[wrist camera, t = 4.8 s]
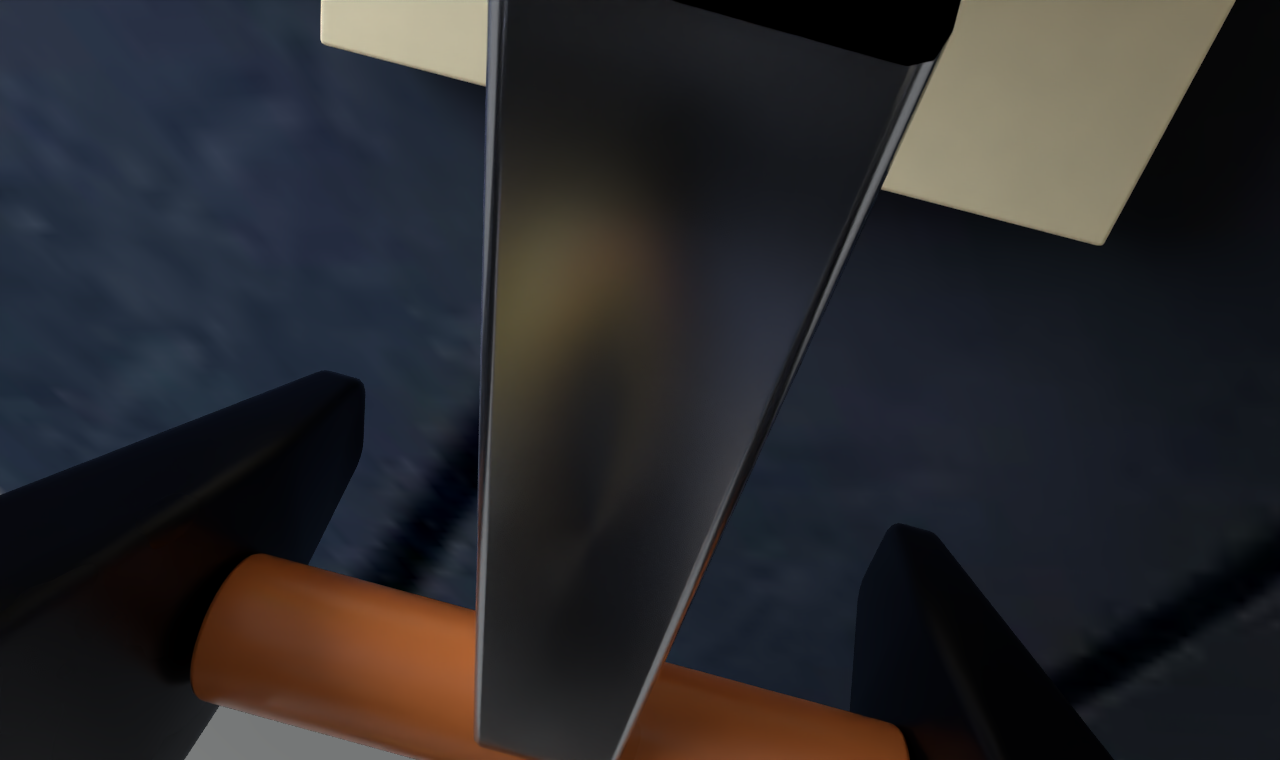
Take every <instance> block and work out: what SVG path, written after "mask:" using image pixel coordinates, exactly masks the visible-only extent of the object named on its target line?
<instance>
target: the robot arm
mask: <svg viewBox="0 0 1280 760" xmlns="http://www.w3.org/2000/svg"><path fill="white" fill-rule="evenodd" d="M364 413H365V389H364V384H363V383H362V382H361V381H360V380H359V379H357V378H354V377H350V376H346V375H342V374H339V373H335V372H331V371H320V372H316V373H314V374H311V375H309V376H306V377H303V378H301V379H298V380H296V381H293V382H291V383H288V384H285V385H283V386H280V387H278V388H275V389H273V390H270V391H267V392H265V393H262V394H260V395H257V396H255V397H252V398H249V399H247V400H244V401H242V402H239V403H236V404H234V405H231V406H229V407H226V408H224V409H221V410H218V411H216V412H213V413H211V414H208V415H206V416H203V417H200V418H198V419H195V420H193V421H190V422H188V423H185V424H182V425H180V426H177V427H175V428H172V429H170V430H167V431H164V432H162V433H159V434H157V435H154V436H152V437H149V438H146V439H144V440H141V441H139V442H136V443H133V444H131V445H128V446H126V447H123V448H121V449H118V450H115V451H113V452H110V453H108V454H105V455H103V456H100V457H97V458H95V459H92V460H90V461H87V462H85V463H82V464H79V465H77V466H74V467H72V468H69V469H67V470H64V471H61V472H59V473H56V474H54V475H51V476H48V477H46V478H43V479H41V480H38V481H36V482H33V483H30V484H28V485H25V486H23V487H20V488H18V489H15V490H12V491H10V492H7V493H5V494H2V495H0V760H184V759H185V758H186V756H187V755H188V753H189V752H190V750H191V749H192V747H193V746H194V744H195V742H196V741H197V739H198V738H199V736H200V735H201V733H202V732H203V730H204V729H205V727H206V726H207V724H208V722H209V721H210V720H211V718H212V716H213V715H214V713H215V712H216V710H217V709H218V707H219V705H215V704H212V703H208V702H205V701H202V700H200V699H199V698H198V697H197V696H196V695H195V694H194V693H193V691H192V688H191V683H190V667H191V660H192V655H193V650H194V646H195V642H196V639H197V636H198V633H199V630H200V627H201V624H202V622H203V619H204V617H205V615H206V612H207V610H208V608H209V606H210V604H211V602H212V600H213V598H214V597H215V595H216V593H217V591H218V590H219V588H220V586H221V585H222V583H223V582H224V580H225V579H226V578H227V576H228V575H229V574H230V572H231V571H232V570H233V569H234V568H235V567H236V566H237V565H238V564H239V563H240V562H241V561H242V560H243V559H245V558H246V557H248V556H250V555H253V554H258V553H265V554H268V555H272V556H276V557H279V558H283V559H287V560H290V561H294V562H298V563H302V564H305V565H308V564H309V562H310V560H311V558H312V556H313V554H314V552H315V550H316V548H317V546H318V544H319V542H320V539H321V537H322V535H323V533H324V531H325V529H326V527H327V525H328V523H329V521H330V519H331V517H332V515H333V513H334V511H335V509H336V507H337V505H338V503H339V501H340V499H341V497H342V495H343V493H344V491H345V489H346V487H347V485H348V483H349V481H350V479H351V477H352V475H353V473H354V471H355V469H356V467H357V465H358V462H359V459H360V456H361V453H362V448H363V438H364ZM850 712H852V713H855V714H859V715H863V716H866V717H870V718H874V719H878V720H881V721H885V722H889V723H892V724H894V725H895V726H896V727H898V728H899V729H900V730H901V732H902V733H903V735H904V737H905V739H906V742H907V746H908V750H909V756H910V760H1114V759H1113V758H1112V757H1111V755H1110V754H1109V753H1108V751H1107V750H1106V749H1105V748H1104V746H1103V745H1102V744H1101V743H1100V741H1099V740H1098V739H1097V738H1096V736H1095V735H1094V734H1093V732H1092V731H1091V730H1090V729H1089V727H1088V726H1087V725H1086V724H1085V722H1084V721H1083V720H1082V719H1081V717H1080V716H1079V715H1078V713H1077V712H1076V711H1075V710H1074V708H1073V707H1072V706H1071V705H1070V703H1069V702H1068V701H1067V700H1066V698H1065V697H1064V696H1063V695H1062V693H1061V692H1060V691H1059V689H1058V688H1057V687H1056V686H1055V684H1054V683H1053V682H1052V681H1051V679H1050V678H1049V677H1048V676H1047V674H1046V673H1045V672H1044V670H1043V669H1042V668H1041V667H1040V665H1039V664H1038V663H1037V662H1036V660H1035V659H1034V658H1033V657H1032V655H1031V654H1030V653H1029V651H1028V650H1027V649H1026V648H1025V646H1024V645H1023V644H1022V643H1021V641H1020V640H1019V639H1018V638H1017V636H1016V635H1015V634H1014V633H1013V631H1012V630H1011V629H1010V627H1009V626H1008V625H1007V624H1006V622H1005V621H1004V620H1003V619H1002V617H1001V616H1000V615H999V614H998V612H997V611H996V610H995V608H994V607H993V606H992V605H991V603H990V602H989V601H988V600H987V598H986V597H985V596H984V595H983V593H982V592H981V591H980V589H979V588H978V587H977V586H976V584H975V583H974V582H973V581H972V579H971V578H970V577H969V576H968V574H967V573H966V572H965V571H964V569H963V568H962V567H961V565H960V564H959V563H958V562H957V560H956V559H955V558H954V557H953V555H952V554H951V553H950V552H949V550H948V549H947V548H946V546H945V545H944V544H943V543H942V541H941V540H940V539H939V538H938V537H937V536H936V535H935V534H934V533H932V532H930V531H927V530H923V529H920V528H916V527H912V526H908V525H905V524H901V523H897V524H894V525H892V526H891V527H890V528H889V529H888V530H887V532H886V534H885V536H884V538H883V540H882V542H881V544H880V546H879V548H878V550H877V552H876V554H875V556H874V558H873V560H872V562H871V564H870V566H869V568H868V570H867V572H866V574H865V576H864V578H863V580H862V583H861V586H860V590H859V595H858V603H857V617H856V631H855V645H854V659H853V673H852V687H851V702H850Z"/></svg>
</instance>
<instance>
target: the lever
mask: <svg viewBox="0 0 1280 760" xmlns="http://www.w3.org/2000/svg"><path fill="white" fill-rule="evenodd" d="M960 3H961V0H487V50H486V102H485V153H484V205H483V256H482V308H481V359H480V410H479V462H478V513H477V565H476V611H475V610H471V609H468V608H464V607H460V606H457V605H453V604H449V603H446V602H442V601H438V600H434V599H431V598H427V597H423V596H420V595H416V594H412V593H409V592H405V591H401V590H398V589H394V588H390V587H386V586H383V585H379V584H375V583H372V582H368V581H364V580H361V579H357V578H353V577H350V576H346V575H342V574H338V573H335V572H331V571H327V570H324V569H320V568H316V567H313V566H309V565H305V564H302V563H298V562H294V561H290V560H287V559H283V558H279V557H276V556H272V555H268V554H265V553H258V554H253V555H250V556H248V557H246V558H245V559H243V560H242V561H241V562H240V563H239V564H238V565H237V566H236V567H235V568H234V569H233V570H232V571H231V572H230V574H229V575H228V576H227V578H226V579H225V580H224V582H223V583H222V585H221V586H220V588H219V590H218V591H217V593H216V595H215V597H214V598H213V600H212V602H211V604H210V606H209V608H208V610H207V612H206V615H205V617H204V619H203V622H202V624H201V627H200V630H199V633H198V636H197V639H196V642H195V646H194V650H193V655H192V660H191V667H190V683H191V688H192V691H193V693H194V694H195V695H196V696H197V697H198V698H199V699H200V700H202V701H205V702H208V703H212V704H215V705H219V706H223V707H227V708H230V709H234V710H238V711H241V712H245V713H248V714H252V715H256V716H259V717H263V718H267V719H270V720H274V721H277V722H281V723H285V724H288V725H292V726H296V727H300V728H303V729H307V730H310V731H314V732H318V733H321V734H325V735H329V736H332V737H336V738H340V739H343V740H347V741H350V742H354V743H358V744H361V745H365V746H369V747H372V748H376V749H380V750H384V751H387V752H390V753H394V754H398V755H402V756H405V757H409V758H413V759H416V760H910V756H909V750H908V746H907V742H906V739H905V737H904V735H903V733H902V732H901V730H900V729H899V728H898V727H896V726H895V725H894V724H892V723H889V722H885V721H881V720H878V719H874V718H870V717H866V716H863V715H859V714H855V713H852V712H848V711H844V710H841V709H837V708H833V707H830V706H826V705H822V704H818V703H815V702H811V701H807V700H804V699H800V698H796V697H793V696H789V695H785V694H782V693H778V692H774V691H770V690H767V689H763V688H759V687H756V686H752V685H748V684H745V683H741V682H737V681H734V680H730V679H726V678H722V677H719V676H715V675H711V674H708V673H704V672H700V671H697V670H693V669H689V668H686V667H682V666H678V665H674V664H671V663H667V662H665V660H666V658H667V656H668V654H669V651H670V649H671V647H672V645H673V643H674V641H675V638H676V636H677V634H678V632H679V630H680V627H681V625H682V623H683V621H684V619H685V616H686V614H687V612H688V610H689V608H690V606H691V603H692V601H693V599H694V597H695V595H696V592H697V590H698V588H699V586H700V584H701V581H702V579H703V577H704V575H705V573H706V571H707V568H708V566H709V564H710V562H711V560H712V557H713V555H714V553H715V551H716V549H717V546H718V544H719V542H720V540H721V538H722V536H723V533H724V531H725V529H726V527H727V525H728V522H729V520H730V518H731V516H732V514H733V511H734V509H735V507H736V505H737V503H738V501H739V498H740V496H741V494H742V492H743V490H744V487H745V485H746V483H747V481H748V479H749V476H750V474H751V472H752V470H753V468H754V466H755V463H756V461H757V459H758V457H759V455H760V452H761V450H762V448H763V446H764V444H765V441H766V439H767V437H768V435H769V433H770V431H771V428H772V426H773V424H774V422H775V420H776V417H777V415H778V413H779V411H780V409H781V406H782V404H783V402H784V400H785V398H786V396H787V393H788V391H789V389H790V387H791V385H792V382H793V380H794V378H795V376H796V374H797V371H798V369H799V367H800V365H801V363H802V361H803V358H804V356H805V354H806V352H807V350H808V347H809V345H810V343H811V341H812V339H813V336H814V334H815V332H816V330H817V328H818V326H819V323H820V321H821V319H822V317H823V315H824V312H825V310H826V308H827V306H828V304H829V301H830V299H831V297H832V295H833V293H834V290H835V288H836V286H837V284H838V282H839V280H840V277H841V275H842V273H843V271H844V269H845V266H846V264H847V262H848V260H849V258H850V255H851V253H852V251H853V249H854V247H855V245H856V242H857V240H858V238H859V236H860V234H861V231H862V229H863V227H864V225H865V223H866V220H867V218H868V216H869V214H870V212H871V210H872V207H873V205H874V203H875V201H876V199H877V196H878V194H879V192H880V190H881V188H882V185H883V183H884V181H885V179H886V177H887V175H888V172H889V170H890V168H891V166H892V164H893V161H894V159H895V157H896V155H897V153H898V150H899V148H900V146H901V144H902V142H903V140H904V137H905V135H906V133H907V131H908V129H909V126H910V124H911V122H912V120H913V118H914V115H915V113H916V111H917V109H918V107H919V105H920V102H921V100H922V98H923V96H924V94H925V91H926V89H927V87H928V85H929V83H930V80H931V78H932V76H933V74H934V72H935V70H936V67H937V65H938V63H939V61H940V59H941V56H942V54H943V52H944V50H945V48H946V45H947V43H948V41H949V39H950V37H951V35H952V32H953V29H954V25H955V22H956V18H957V14H958V10H959V6H960Z"/></svg>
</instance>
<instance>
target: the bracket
mask: <svg viewBox="0 0 1280 760" xmlns="http://www.w3.org/2000/svg"><path fill="white" fill-rule="evenodd" d="M1235 1H1236V0H961V3H960V6H959V10H958V14H957V18H956V22H955V25H954V29H953V32H952V35H951V37H950V39H949V41H948V43H947V45H946V48H945V50H944V52H943V54H942V56H941V59H940V61H939V63H938V65H937V67H936V70H935V72H934V74H933V76H932V78H931V80H930V83H929V85H928V87H927V89H926V91H925V94H924V96H923V98H922V100H921V102H920V105H919V107H918V109H917V111H916V113H915V115H914V118H913V120H912V122H911V124H910V126H909V129H908V131H907V133H906V135H905V137H904V140H903V142H902V144H901V146H900V148H899V150H898V153H897V155H896V157H895V159H894V161H893V164H892V166H891V168H890V170H889V172H888V175H887V177H886V179H885V181H884V183H883V185H882V188H881V190H885V191H889V192H893V193H897V194H900V195H904V196H908V197H912V198H916V199H920V200H924V201H927V202H931V203H935V204H939V205H943V206H947V207H950V208H954V209H958V210H962V211H966V212H970V213H974V214H977V215H981V216H985V217H989V218H993V219H997V220H1001V221H1004V222H1008V223H1012V224H1016V225H1020V226H1024V227H1027V228H1031V229H1035V230H1039V231H1043V232H1047V233H1051V234H1054V235H1058V236H1062V237H1066V238H1070V239H1074V240H1078V241H1081V242H1085V243H1089V244H1093V245H1103V244H1104V243H1105V241H1106V239H1107V237H1108V235H1109V233H1110V231H1111V230H1112V228H1113V226H1114V224H1115V222H1116V220H1117V219H1118V217H1119V215H1120V213H1121V211H1122V209H1123V207H1124V206H1125V204H1126V202H1127V200H1128V198H1129V196H1130V195H1131V193H1132V191H1133V189H1134V187H1135V185H1136V183H1137V182H1138V180H1139V178H1140V176H1141V174H1142V172H1143V171H1144V169H1145V167H1146V165H1147V163H1148V161H1149V159H1150V158H1151V156H1152V154H1153V152H1154V150H1155V148H1156V147H1157V145H1158V143H1159V141H1160V139H1161V137H1162V135H1163V134H1164V132H1165V130H1166V128H1167V126H1168V124H1169V123H1170V121H1171V119H1172V117H1173V115H1174V113H1175V111H1176V110H1177V108H1178V106H1179V104H1180V102H1181V100H1182V99H1183V97H1184V95H1185V93H1186V91H1187V89H1188V87H1189V86H1190V84H1191V82H1192V80H1193V78H1194V76H1195V75H1196V73H1197V71H1198V69H1199V67H1200V65H1201V63H1202V62H1203V60H1204V58H1205V56H1206V54H1207V52H1208V51H1209V49H1210V47H1211V45H1212V43H1213V41H1214V39H1215V38H1216V36H1217V34H1218V32H1219V30H1220V28H1221V27H1222V25H1223V23H1224V21H1225V19H1226V17H1227V15H1228V14H1229V12H1230V10H1231V8H1232V6H1233V4H1234V3H1235ZM321 42H322V43H323V44H325V45H327V46H331V47H334V48H338V49H342V50H346V51H350V52H354V53H358V54H361V55H365V56H369V57H373V58H377V59H381V60H385V61H388V62H392V63H396V64H400V65H404V66H408V67H411V68H415V69H419V70H423V71H427V72H431V73H435V74H438V75H442V76H446V77H450V78H454V79H458V80H462V81H465V82H469V83H473V84H477V85H481V86H485V87H486V50H487V0H321Z"/></svg>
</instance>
